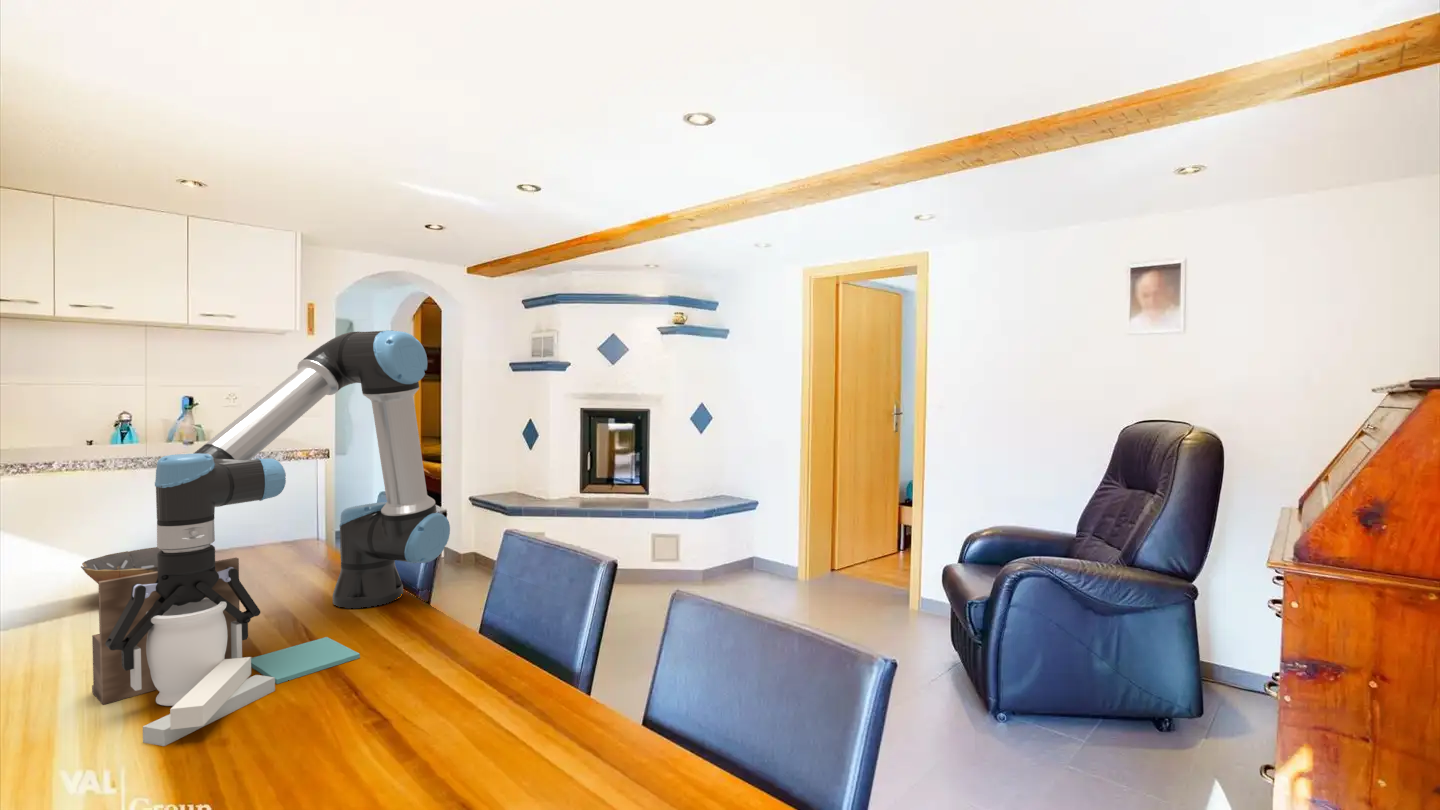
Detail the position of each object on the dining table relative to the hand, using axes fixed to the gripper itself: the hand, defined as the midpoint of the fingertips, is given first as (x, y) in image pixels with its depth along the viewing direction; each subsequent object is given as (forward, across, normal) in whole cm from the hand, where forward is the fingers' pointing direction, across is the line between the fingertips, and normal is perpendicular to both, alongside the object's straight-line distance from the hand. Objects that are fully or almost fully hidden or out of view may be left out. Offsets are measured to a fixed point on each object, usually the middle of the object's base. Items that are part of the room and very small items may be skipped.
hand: (188, 673), depth 111 cm
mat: (+4, +18, 0) cm, 18 cm away
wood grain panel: (+4, 0, +10) cm, 11 cm away
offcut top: (+1, 0, -11) cm, 11 cm away
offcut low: (+4, 0, -11) cm, 12 cm away
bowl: (+4, +12, +71) cm, 72 cm away
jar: (+4, 0, 0) cm, 4 cm away
